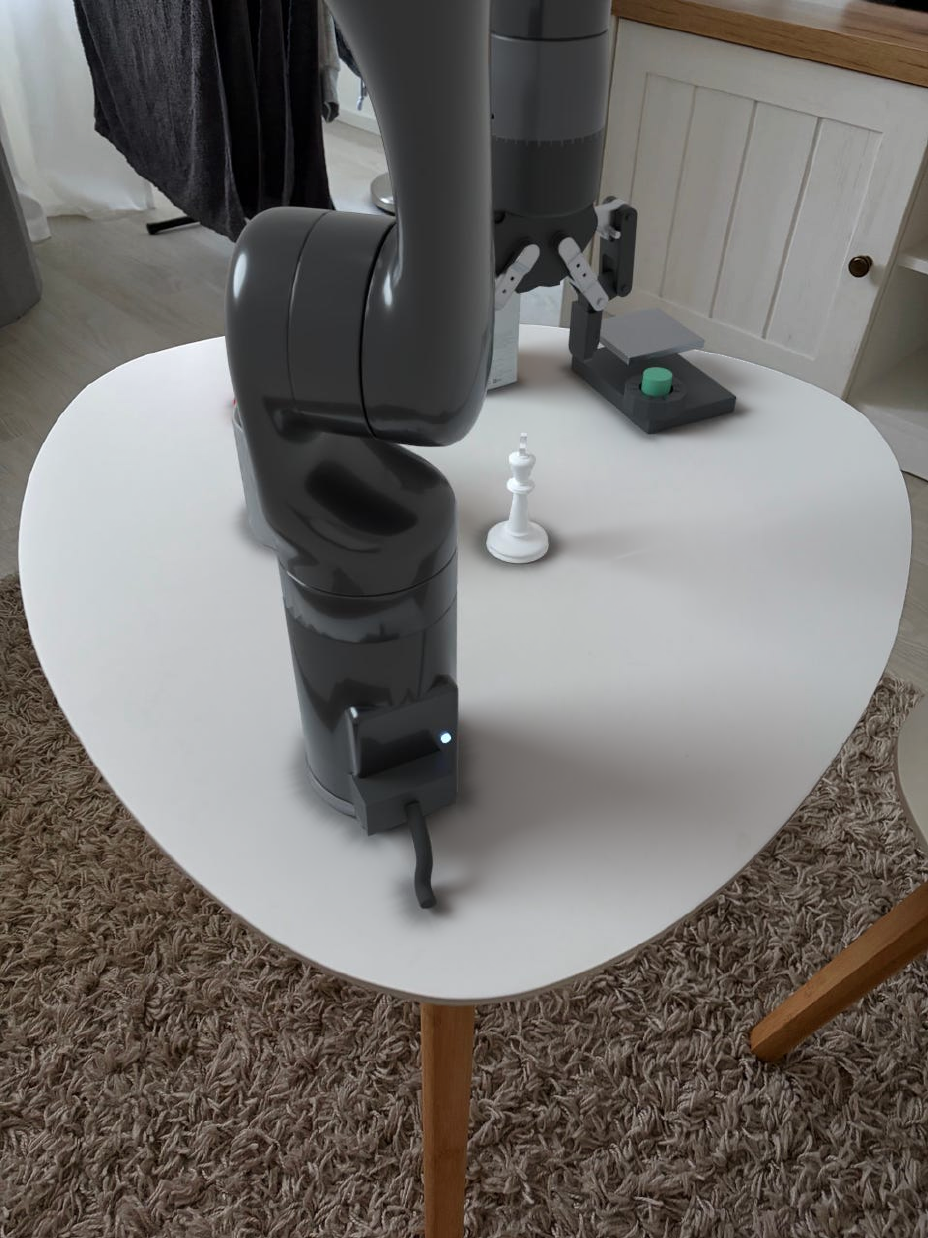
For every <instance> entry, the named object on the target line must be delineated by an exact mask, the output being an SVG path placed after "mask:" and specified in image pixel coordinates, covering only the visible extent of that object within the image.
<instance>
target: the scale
mask: <svg viewBox="0 0 928 1238" xmlns="http://www.w3.org/2000/svg"><path fill="white" fill-rule="evenodd" d="M570 366H571V367H570V369H571V371H573V372H574V373H575V374H576V375H577V376H578V377H580V378H581V379H582V380H583V381H584V382H586V383H587V384H588V385H589V386H590V387H591V388H593V389H594V390H595V391H596V392H597V393H598V394H599V395H600V396H602V397H603V398H604V399H605V400H607V402H609V403H610V404H611V405H612V406H614V407H615V408H616V409H617V410H618V411H620V412H621V414H623V415H624V416H625V417H626V418H627V419H629V420H630V421H631V422H632V423H633V424H635V425H636V426H637V427H638V428H639V429H640V430H641V431H643V432H644V433H645V434H646V435H651V434H656V433H659V432H663V431H665V430H670V429H675V428H678V427H682V426H686V425H689V424H693V423H697V422H701V421H704V420H708V419H711V418H715V417H719V416H723V415H728V414H732V413H735V407H736V403H737V398H738V397H737V396H736V395H735V394H734V393H732V392H731V391H730V390H728V389H727V388H725V386H723V385H722V384H720V383H719V382H717V380H715V379H714V378H712V377H710V376H709V375H708V374H706V373H705V372H704V371H702V370H701V369H700V368H699V367H697V366H695V365H694V364H693V363H691V362H690V361H689V360H687V359H686V358H685V357H684V356H682V355H681V354H680V353H677V354H673V355H669V356H664V357H660V358H656V359H652V360H647V361H643V362H639V363H635V364H630V365H628V364H626V363H625V362H624V361H623V360H621V359H620V358H619V357H617V356H616V355H615V354H614V353H612V352H611V351H610V350H609V349H607V348H606V347H605V346H603V347H598V348H597V350H596V351H594V352H593V358H592V360H590V361H585V362H580V361H579V360H578V359H576V358H575V357H574V356H573V355H572V354H571V365H570ZM653 367H659V368H664V369H667V370H669V371H670V372H671V373H672V382H671V388H670V393H669V395H665V396H651V395H648V394H645V393H643V392H642V391H641V388H642V381H643V373H644V371H645V370H646V369H648V368H653Z"/></svg>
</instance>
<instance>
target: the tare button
mask: <svg viewBox="0 0 928 1238" xmlns="http://www.w3.org/2000/svg"><path fill="white" fill-rule="evenodd" d="M671 382H672V373H671V372H670V371H669V370H667V369H664V368H659V367H653V368H648V369H646V370H645V371H644V373H643V381H642V388H641V391H642V392H643V393H645V394H648V395H651V396H665V395H669V393H670V388H671Z"/></svg>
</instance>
